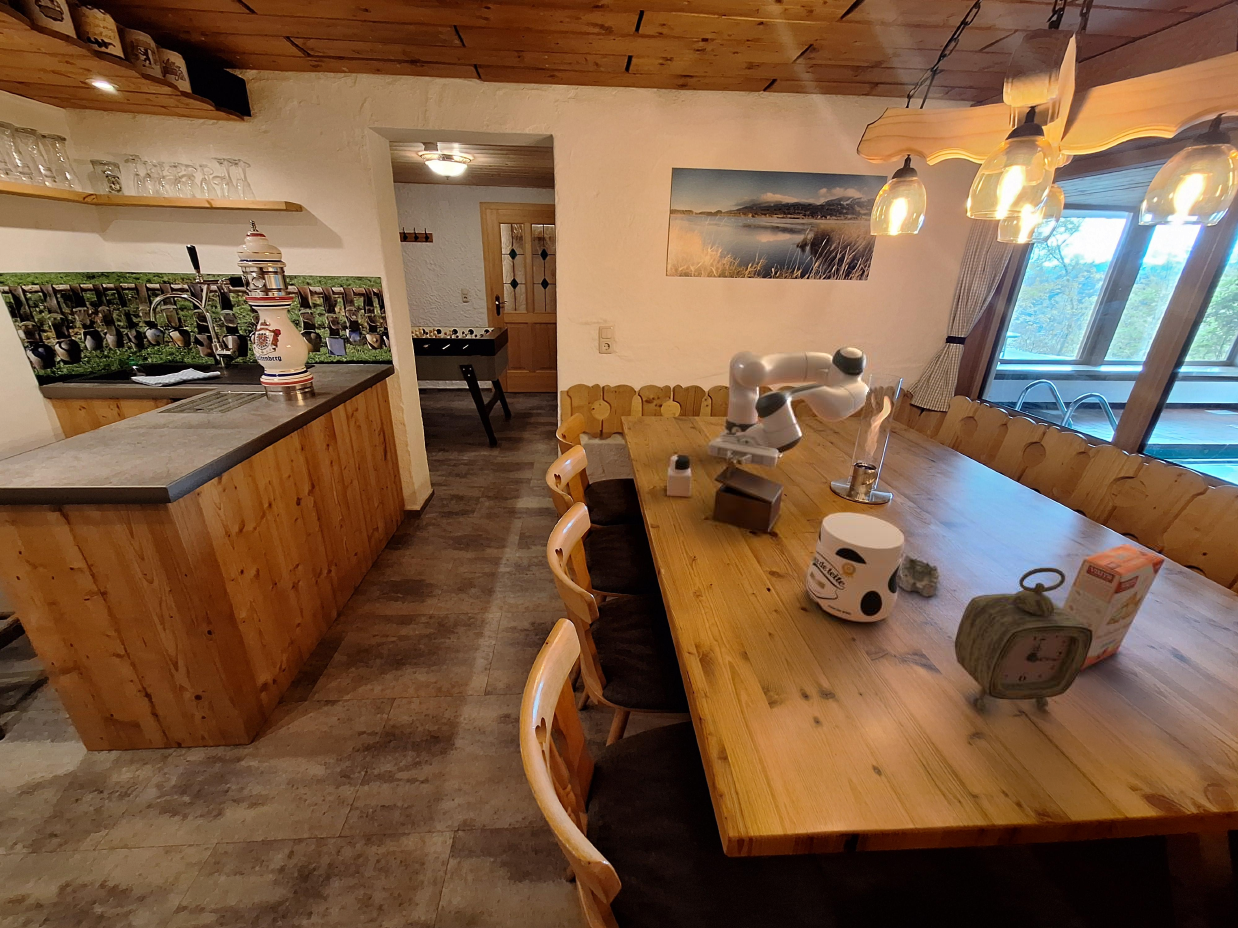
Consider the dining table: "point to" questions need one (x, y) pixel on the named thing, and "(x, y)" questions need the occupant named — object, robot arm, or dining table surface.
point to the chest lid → (748, 482)
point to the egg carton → (918, 576)
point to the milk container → (856, 567)
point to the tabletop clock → (1021, 644)
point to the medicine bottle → (679, 476)
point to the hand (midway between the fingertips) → (734, 460)
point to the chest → (745, 509)
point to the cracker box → (1111, 595)
